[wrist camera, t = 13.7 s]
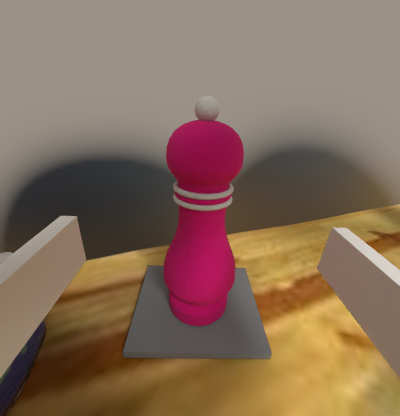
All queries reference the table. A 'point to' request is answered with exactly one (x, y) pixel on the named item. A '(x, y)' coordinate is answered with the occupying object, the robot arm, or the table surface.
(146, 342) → the charcoal mat
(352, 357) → the table surface
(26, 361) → the flask
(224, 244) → the pepper mill
